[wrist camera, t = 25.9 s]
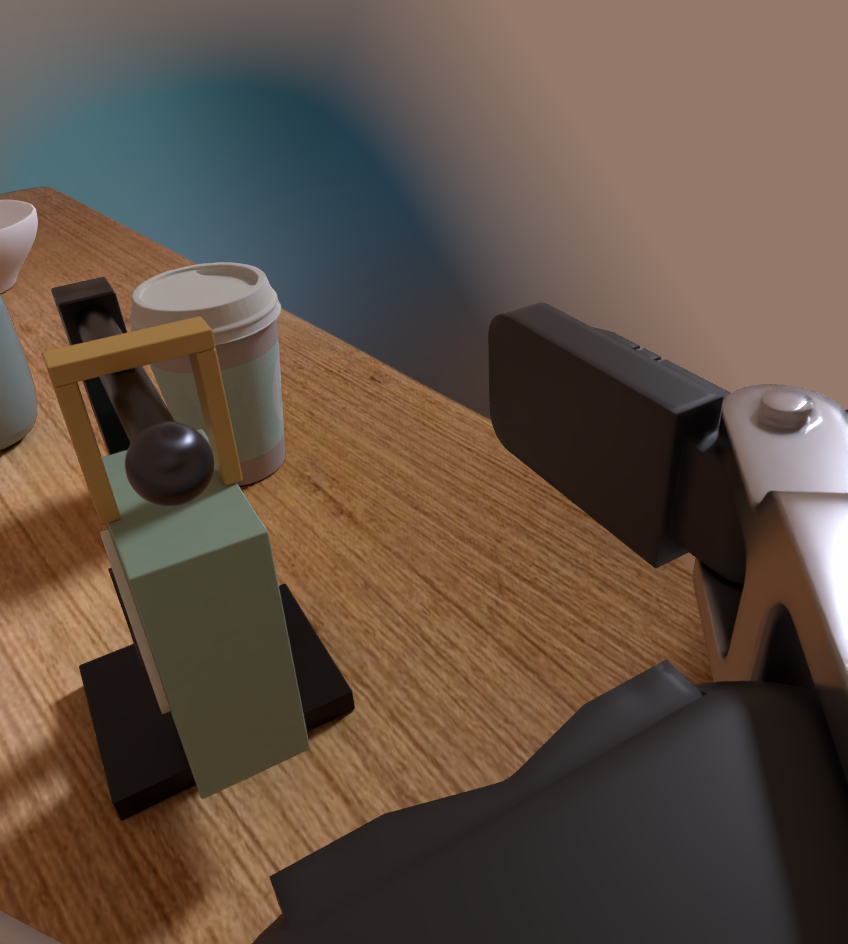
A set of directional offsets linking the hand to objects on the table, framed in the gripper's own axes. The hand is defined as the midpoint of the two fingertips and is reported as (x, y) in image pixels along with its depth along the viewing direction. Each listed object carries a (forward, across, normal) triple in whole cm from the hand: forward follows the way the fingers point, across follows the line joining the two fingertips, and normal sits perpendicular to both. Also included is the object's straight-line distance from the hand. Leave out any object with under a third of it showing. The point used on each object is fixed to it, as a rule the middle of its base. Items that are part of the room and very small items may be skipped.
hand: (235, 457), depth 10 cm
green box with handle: (+13, 0, +18) cm, 22 cm away
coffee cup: (+34, -7, +22) cm, 42 cm away
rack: (+13, 0, +22) cm, 26 cm away
